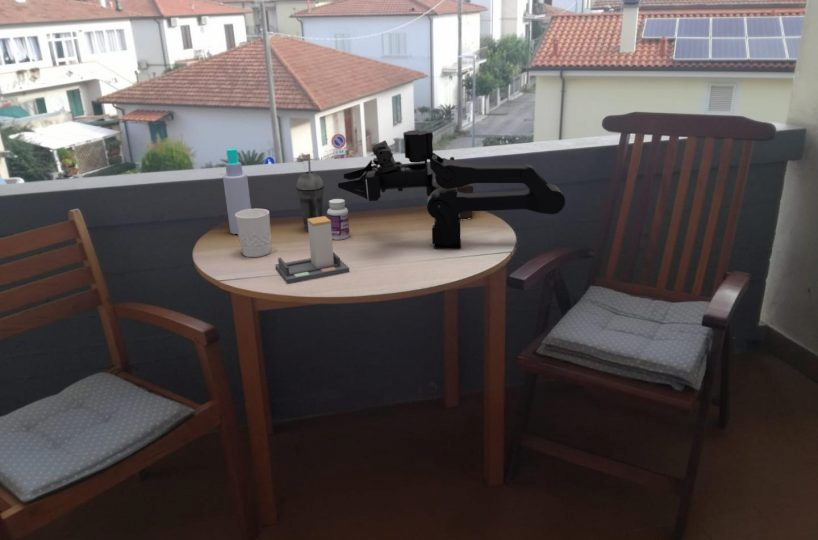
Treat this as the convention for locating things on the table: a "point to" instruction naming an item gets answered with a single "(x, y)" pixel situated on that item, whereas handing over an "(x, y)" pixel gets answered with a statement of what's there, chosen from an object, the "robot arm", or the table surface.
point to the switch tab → (320, 241)
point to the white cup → (254, 232)
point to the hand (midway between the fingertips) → (341, 180)
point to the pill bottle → (338, 219)
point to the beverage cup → (310, 195)
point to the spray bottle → (235, 189)
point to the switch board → (309, 269)
